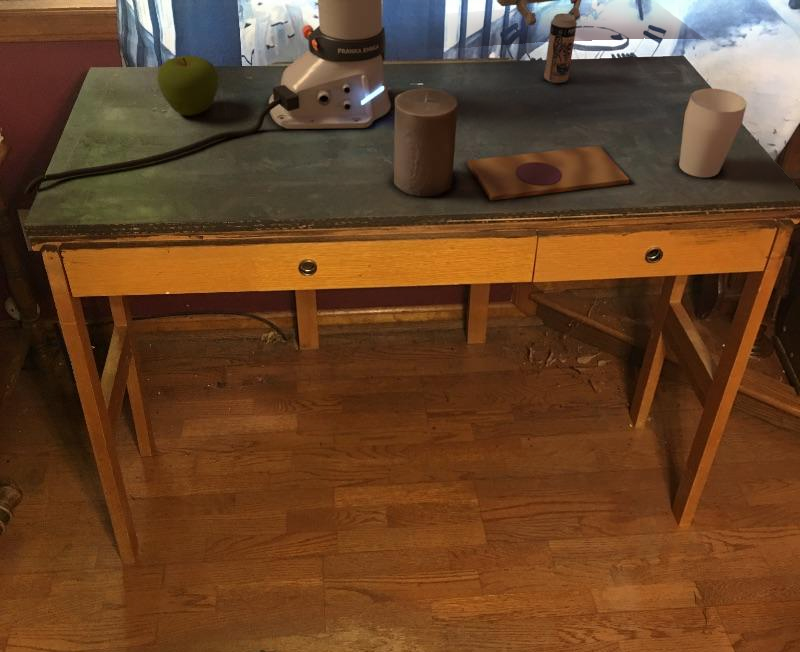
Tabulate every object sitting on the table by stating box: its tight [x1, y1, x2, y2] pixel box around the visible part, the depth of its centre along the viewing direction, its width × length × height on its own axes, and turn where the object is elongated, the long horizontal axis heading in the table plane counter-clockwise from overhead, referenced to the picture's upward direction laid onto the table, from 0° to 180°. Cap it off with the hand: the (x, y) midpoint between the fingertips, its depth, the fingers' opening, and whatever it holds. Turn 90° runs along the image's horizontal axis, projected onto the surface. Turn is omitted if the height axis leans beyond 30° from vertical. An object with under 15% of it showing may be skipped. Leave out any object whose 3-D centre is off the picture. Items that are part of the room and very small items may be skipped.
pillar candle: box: [393, 88, 458, 198], centre depth 135 cm, size 10×10×15 cm
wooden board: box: [467, 145, 630, 201], centre depth 142 cm, size 24×12×1 cm, turn 105°
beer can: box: [543, 13, 578, 84], centre depth 166 cm, size 5×5×12 cm
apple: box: [157, 55, 219, 117], centre depth 153 cm, size 11×10×10 cm
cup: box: [678, 87, 747, 178], centre depth 141 cm, size 9×9×12 cm
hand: (553, 21), depth 166 cm, fingers open, 8 cm apart
